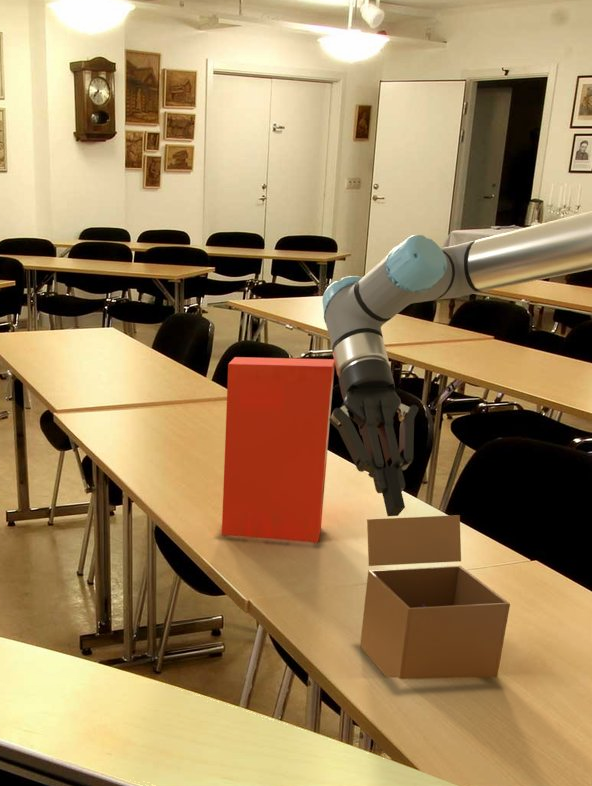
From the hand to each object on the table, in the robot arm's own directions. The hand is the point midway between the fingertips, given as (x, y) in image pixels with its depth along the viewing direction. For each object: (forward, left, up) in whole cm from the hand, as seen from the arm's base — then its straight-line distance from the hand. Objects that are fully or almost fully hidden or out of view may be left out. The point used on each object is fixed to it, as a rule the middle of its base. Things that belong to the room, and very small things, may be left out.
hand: (396, 511), depth 127 cm
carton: (0, +14, -17) cm, 22 cm away
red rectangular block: (+5, -39, -17) cm, 43 cm away
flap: (0, +7, -2) cm, 7 cm away
